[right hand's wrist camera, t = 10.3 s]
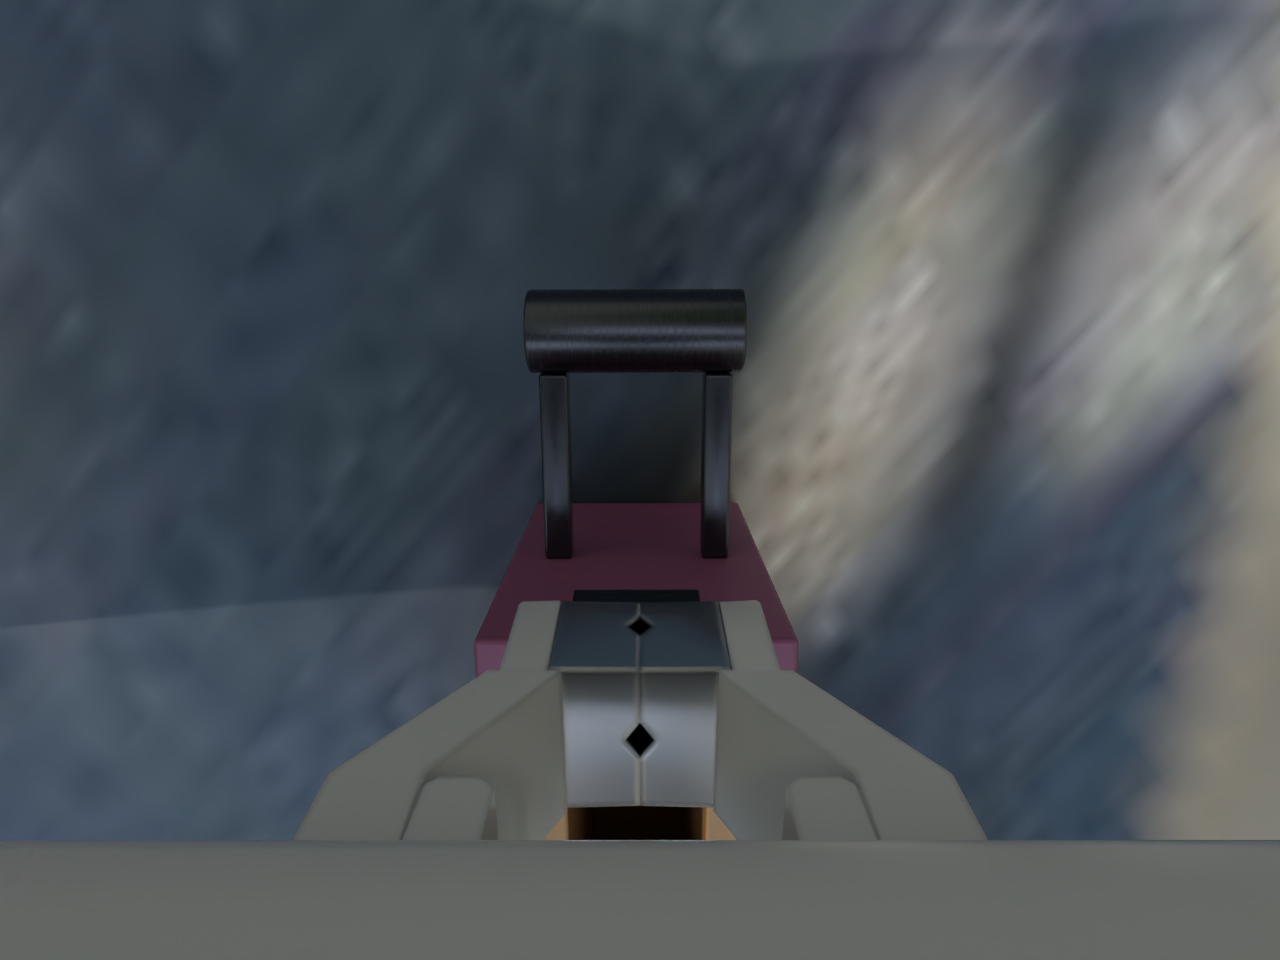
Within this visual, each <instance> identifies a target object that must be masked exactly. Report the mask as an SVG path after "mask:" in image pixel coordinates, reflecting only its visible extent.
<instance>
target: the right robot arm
mask: <svg viewBox="0 0 1280 960" xmlns="http://www.w3.org/2000/svg"><path fill="white" fill-rule="evenodd" d="M611 806H667V807H704V808H714V809H713V811H714V812H715V814H716V815H717V816H718V817H719V818H720V820H721V821H722V822H723V823H724V825H725V826H726V827H727V828H728V829H729V831H730V832H731V833H732V834H733V836H734V837H735V838H736V839H737V840H544V839H545V837H546V836H547V835H548V834H549V833H550V831H551V830H552V829H553V828H554V827H555V825H556V824H557V823H558V822H559V820H560V819H561V818H562V817H563V816H564V814H565V813H566V812H567V808H576V807H611ZM0 960H1280V840H988V839H987V837H986V835H985V833H984V832H983V830H982V828H981V826H980V824H979V822H978V821H977V819H976V817H975V815H974V813H973V811H972V809H971V808H970V806H969V804H968V802H967V800H966V798H965V796H964V795H963V793H962V791H961V789H960V787H959V785H958V784H957V782H956V780H955V778H954V776H953V774H952V773H950V772H949V771H947V770H946V769H944V768H943V767H941V766H940V765H938V764H936V763H935V762H933V761H932V760H930V759H929V758H927V757H926V756H924V755H923V754H921V753H919V752H918V751H916V750H915V749H913V748H912V747H910V746H909V745H907V744H906V743H904V742H902V741H901V740H899V739H898V738H896V737H895V736H893V735H892V734H890V733H889V732H887V731H886V730H884V729H882V728H881V727H879V726H878V725H876V724H875V723H873V722H872V721H870V720H869V719H867V718H865V717H864V716H862V715H861V714H859V713H858V712H856V711H855V710H853V709H852V708H850V707H848V706H847V705H845V704H844V703H842V702H841V701H839V700H838V699H836V698H835V697H833V696H832V695H830V694H828V693H827V692H825V691H824V690H822V689H821V688H819V687H818V686H816V685H815V684H813V683H811V682H810V681H808V680H807V679H805V678H804V677H802V676H801V675H799V674H798V673H796V672H794V671H793V670H781V669H780V666H779V662H778V659H777V656H776V652H775V649H774V646H773V643H772V639H771V636H770V633H769V629H768V626H767V623H766V620H765V616H764V613H763V610H762V606H761V603H760V602H758V601H757V600H747V601H726V602H718V601H695V602H653V603H635V602H581V601H563V602H562V603H561V601H560V600H549V601H523V602H521V603H520V604H519V606H518V609H517V612H516V616H515V619H514V622H513V625H512V629H511V632H510V635H509V639H508V642H507V645H506V649H505V652H504V655H503V659H502V662H501V665H500V669H499V670H487V671H486V672H484V673H482V674H481V675H479V676H478V677H476V678H475V679H473V680H472V681H470V682H468V683H467V684H465V685H464V686H462V687H461V688H459V689H458V690H456V691H455V692H453V693H451V694H450V695H448V696H447V697H445V698H444V699H442V700H441V701H439V702H437V703H436V704H434V705H433V706H431V707H430V708H428V709H427V710H425V711H424V712H422V713H420V714H419V715H417V716H416V717H414V718H413V719H411V720H410V721H408V722H406V723H405V724H403V725H402V726H400V727H399V728H397V729H396V730H394V731H393V732H391V733H389V734H388V735H386V736H385V737H383V738H382V739H380V740H379V741H377V742H375V743H374V744H372V745H371V746H369V747H368V748H366V749H365V750H363V751H362V752H360V753H358V754H357V755H355V756H354V757H352V758H351V759H349V760H348V761H346V762H344V763H343V764H341V765H340V766H338V767H337V768H335V769H334V770H332V771H331V772H329V773H328V775H327V777H326V779H325V781H324V782H323V784H322V786H321V788H320V790H319V792H318V793H317V795H316V797H315V799H314V801H313V803H312V804H311V806H310V808H309V810H308V812H307V814H306V815H305V817H304V819H303V821H302V823H301V824H300V826H299V828H298V830H297V832H296V834H295V835H294V837H293V839H292V840H0Z"/></svg>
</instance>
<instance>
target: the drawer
mask: <svg viewBox="0 0 1280 960" xmlns="http://www.w3.org/2000/svg"><path fill="white" fill-rule="evenodd" d="M747 334H748V316H747V302H746V296H745V293H744V290H742V289H623V290H529V291H527V294H526V297H525V304H524V345H525V355H526V361H527V365H528V368H529V371H530V372H532V373H541V374H540V376H539V391H540V419H541V448H542V476H543V503H539V504H537V505H536V507H535V509H534V511H533V513H532V516H531V518H530V520H529V522H528V525H527V527H526V529H525V531H524V533H523V536H522V538H521V540H520V542H519V544H518V547H517V549H516V551H515V553H514V555H513V558H512V560H511V562H510V564H509V566H508V569H507V571H506V573H505V575H504V578H503V580H502V582H501V584H500V586H499V589H498V591H497V593H496V595H495V597H494V600H493V602H492V604H491V606H490V608H489V611H488V613H487V615H486V617H485V620H484V622H483V624H482V626H481V628H480V631H479V633H478V635H477V637H476V639H475V642H474V652H475V668H476V677H478V676H479V675H481V674H482V673H484V672H486V671H487V670H499V669H500V665H501V662H502V659H503V655H504V652H505V649H506V645H507V642H508V639H509V635H510V632H511V629H512V625H513V622H514V619H515V616H516V612H517V609H518V606H519V604H520V603H521V602H523V601H549V600H560V601H561V603H562V602H563V601H581V602H635V603H653V602H695V601H718V602H726V601H747V600H757V601H758V602H760V603H761V606H762V610H763V613H764V616H765V620H766V623H767V626H768V629H769V633H770V636H771V639H772V643H773V646H774V649H775V652H776V656H777V659H778V662H779V666H780V669H781V670H793V671H794V672H796V673H797V659H798V640H797V638H796V635H795V633H794V631H793V629H792V626H791V624H790V622H789V619H788V617H787V615H786V613H785V610H784V608H783V606H782V604H781V601H780V599H779V597H778V594H777V592H776V590H775V588H774V585H773V583H772V581H771V579H770V576H769V574H768V572H767V570H766V567H765V565H764V563H763V560H762V558H761V556H760V554H759V551H758V549H757V547H756V545H755V542H754V540H753V538H752V535H751V533H750V531H749V529H748V526H747V524H746V522H745V520H744V517H743V515H742V513H741V510H740V508H739V506H738V504H737V503H730V466H731V429H732V392H733V376H732V374H731V373H730V372H741V371H742V370H743V367H744V364H745V358H746V350H747ZM621 372H704V373H703V394H702V452H701V503H572V463H571V424H570V385H569V373H621ZM713 809H714V808H704V807H667V806H611V807H576V808H567V812H566V813H565V814H564V816H563V817H562V818H561V819H560V820H559V822H558V823H557V824H556V825H555V827H554V828H553V829H552V830H551V831H550V833H549V834H548V835H547V836H546V837H545V839H544V840H737V839H736V838H735V837H734V836H733V834H732V833H731V832H730V831H729V829H728V828H727V827H726V826H725V825H724V823H723V822H722V821H721V820H720V818H719V817H718V816H717V815H716V814H715V812H714V811H713Z"/></svg>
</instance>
